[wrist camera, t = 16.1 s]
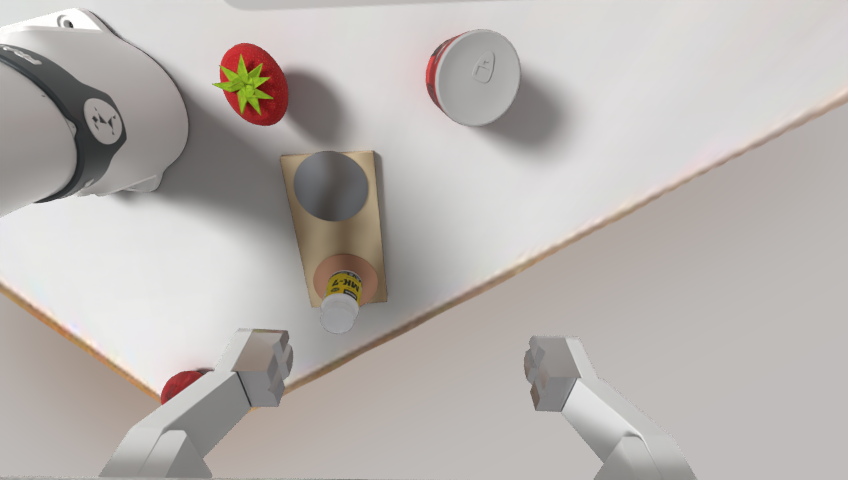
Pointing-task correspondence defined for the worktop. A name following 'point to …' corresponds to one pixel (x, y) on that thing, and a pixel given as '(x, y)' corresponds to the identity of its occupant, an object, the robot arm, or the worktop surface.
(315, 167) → the board
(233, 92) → the strawberry
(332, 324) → the supplement bottle
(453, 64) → the canned food
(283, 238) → the worktop surface
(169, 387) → the onion
